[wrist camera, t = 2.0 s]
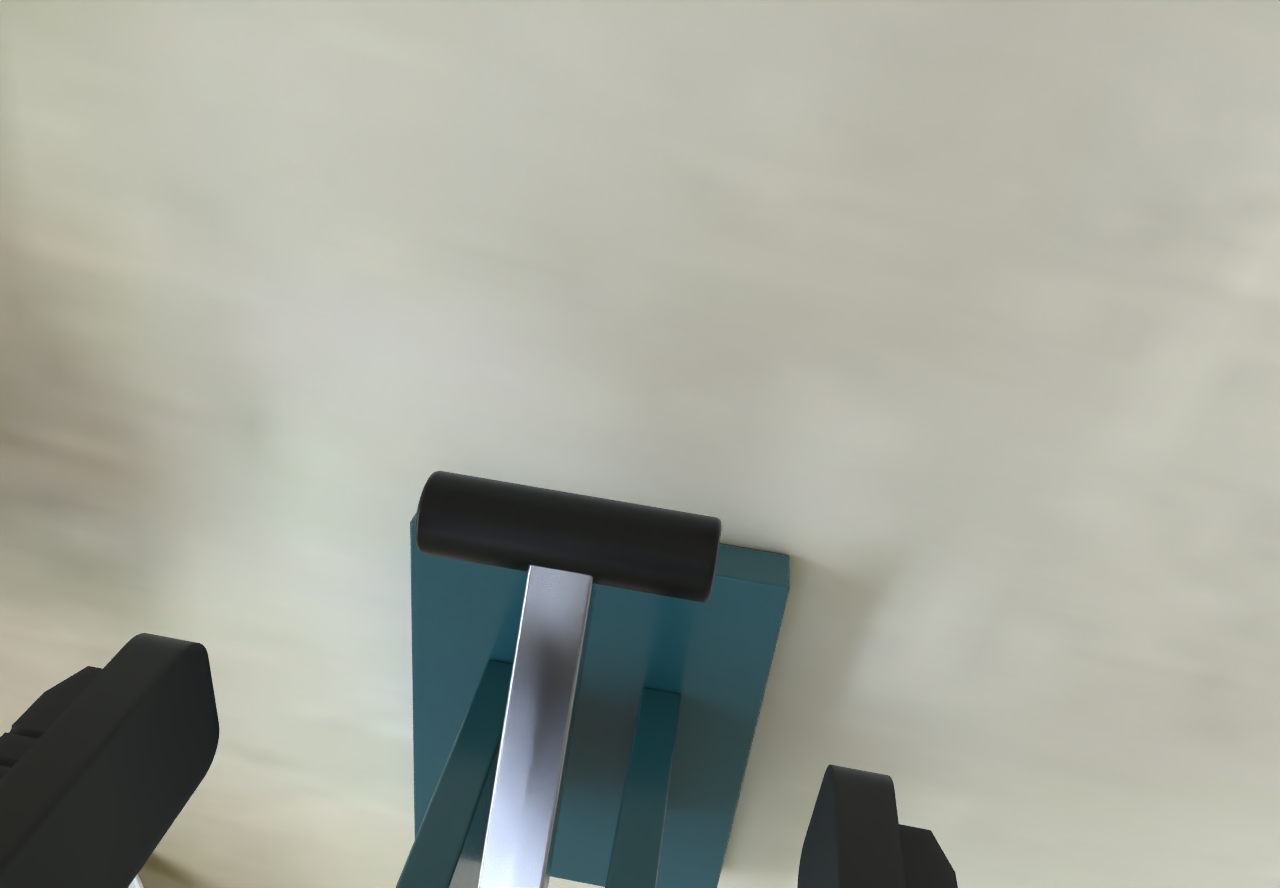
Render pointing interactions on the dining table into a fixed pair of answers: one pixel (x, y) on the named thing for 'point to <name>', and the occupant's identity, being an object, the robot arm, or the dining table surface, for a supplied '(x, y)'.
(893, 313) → the dining table surface
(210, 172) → the dining table surface
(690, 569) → the lever
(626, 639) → the bracket
